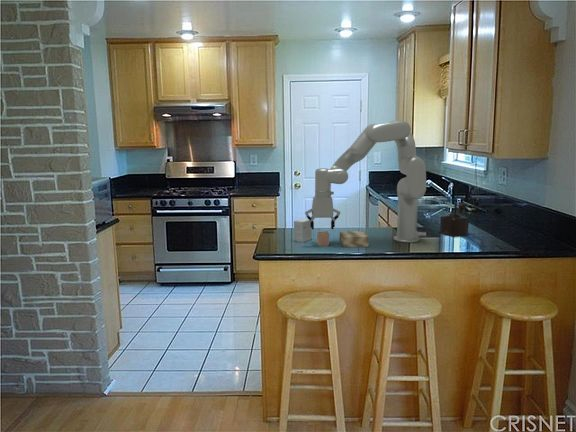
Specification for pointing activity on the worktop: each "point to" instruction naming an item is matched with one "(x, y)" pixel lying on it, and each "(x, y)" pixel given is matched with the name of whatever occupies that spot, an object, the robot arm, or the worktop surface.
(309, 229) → the small box
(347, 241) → the maple base block
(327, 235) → the terracotta block
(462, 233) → the dark brown boxy piece
